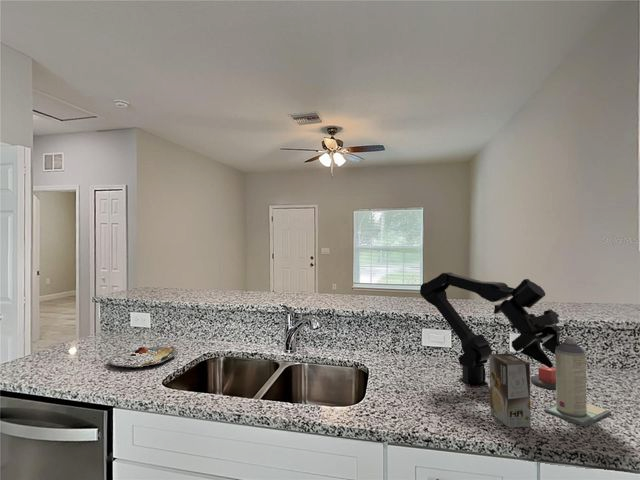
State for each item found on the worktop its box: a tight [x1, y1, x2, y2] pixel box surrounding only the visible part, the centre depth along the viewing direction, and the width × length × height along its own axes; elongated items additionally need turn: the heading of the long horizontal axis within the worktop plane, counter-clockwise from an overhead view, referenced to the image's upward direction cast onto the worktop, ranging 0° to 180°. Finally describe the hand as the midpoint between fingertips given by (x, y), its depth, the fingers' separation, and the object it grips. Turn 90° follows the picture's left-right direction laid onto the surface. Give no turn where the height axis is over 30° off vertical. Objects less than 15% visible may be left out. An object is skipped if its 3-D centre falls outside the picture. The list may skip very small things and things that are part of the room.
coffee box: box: [488, 353, 532, 429], centre depth 99 cm, size 9×6×16 cm
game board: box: [544, 402, 612, 428], centre depth 102 cm, size 14×10×1 cm
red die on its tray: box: [530, 365, 556, 391], centre depth 123 cm, size 10×10×5 cm
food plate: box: [108, 346, 179, 368], centre depth 151 cm, size 25×23×4 cm
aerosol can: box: [554, 336, 587, 418], centre depth 101 cm, size 7×7×20 cm
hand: (559, 363), depth 103 cm, fingers open, 9 cm apart
